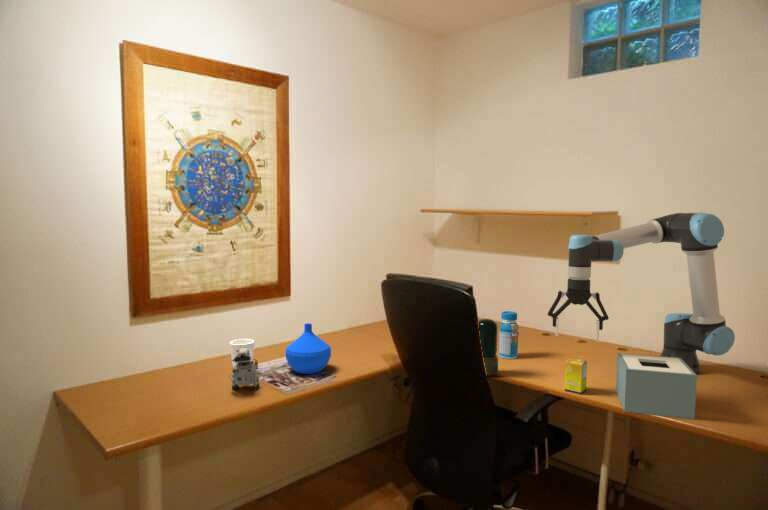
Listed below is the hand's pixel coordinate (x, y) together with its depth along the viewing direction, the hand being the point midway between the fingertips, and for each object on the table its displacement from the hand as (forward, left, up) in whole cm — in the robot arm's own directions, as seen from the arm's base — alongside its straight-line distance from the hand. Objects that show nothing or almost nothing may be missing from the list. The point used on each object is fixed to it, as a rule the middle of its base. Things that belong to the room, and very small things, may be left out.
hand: (576, 337), depth 183 cm
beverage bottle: (+26, -37, -20) cm, 49 cm away
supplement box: (0, 0, -20) cm, 20 cm away
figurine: (+114, +36, -20) cm, 121 cm away
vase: (+102, +8, -20) cm, 104 cm away
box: (-24, +6, -20) cm, 32 cm away
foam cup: (+125, +20, -20) cm, 128 cm away
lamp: (+33, -10, -20) cm, 40 cm away
